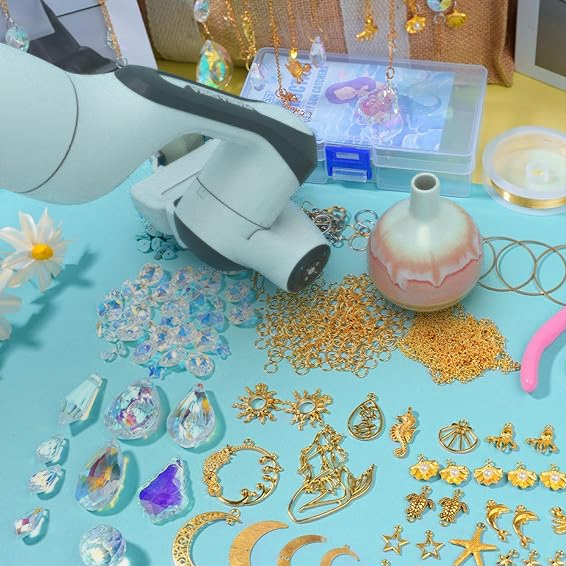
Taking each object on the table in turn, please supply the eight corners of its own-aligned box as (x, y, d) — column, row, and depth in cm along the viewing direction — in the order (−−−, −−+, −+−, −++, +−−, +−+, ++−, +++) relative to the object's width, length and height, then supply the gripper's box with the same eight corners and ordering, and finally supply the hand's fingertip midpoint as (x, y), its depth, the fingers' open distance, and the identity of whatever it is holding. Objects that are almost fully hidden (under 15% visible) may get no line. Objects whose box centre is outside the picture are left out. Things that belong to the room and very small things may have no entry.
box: (186, 163, 115) (166, 99, 106) (214, 168, 114) (196, 104, 105) (170, 189, 113) (148, 126, 104) (198, 195, 112) (178, 131, 103)
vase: (363, 329, 98) (353, 228, 84) (374, 241, 106) (366, 135, 91) (480, 334, 96) (490, 232, 82) (482, 245, 104) (492, 137, 89)
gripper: (298, 137, 103) (237, 86, 110) (159, 220, 97) (103, 160, 104) (304, 175, 108) (245, 123, 115) (172, 255, 102) (118, 196, 109)
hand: (177, 141), depth 109 cm, fingers closed on box, 6 cm apart
